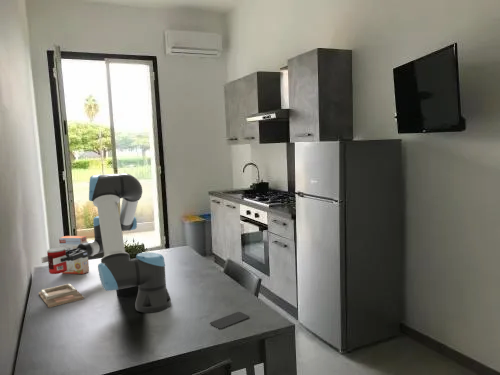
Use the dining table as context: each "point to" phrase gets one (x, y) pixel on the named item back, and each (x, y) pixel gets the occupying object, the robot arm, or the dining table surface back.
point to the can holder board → (60, 295)
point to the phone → (229, 320)
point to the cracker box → (79, 264)
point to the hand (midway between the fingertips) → (47, 261)
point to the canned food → (52, 255)
